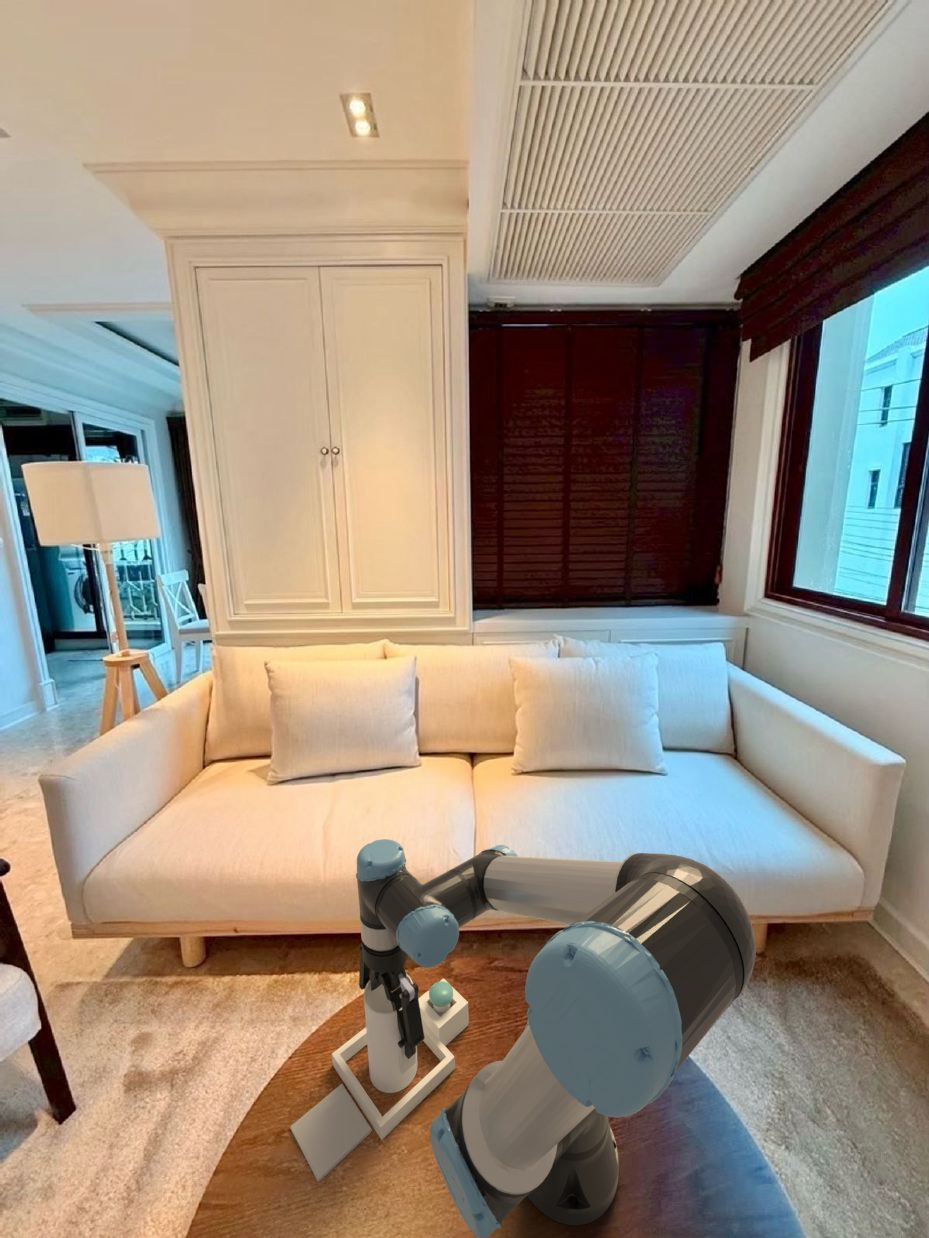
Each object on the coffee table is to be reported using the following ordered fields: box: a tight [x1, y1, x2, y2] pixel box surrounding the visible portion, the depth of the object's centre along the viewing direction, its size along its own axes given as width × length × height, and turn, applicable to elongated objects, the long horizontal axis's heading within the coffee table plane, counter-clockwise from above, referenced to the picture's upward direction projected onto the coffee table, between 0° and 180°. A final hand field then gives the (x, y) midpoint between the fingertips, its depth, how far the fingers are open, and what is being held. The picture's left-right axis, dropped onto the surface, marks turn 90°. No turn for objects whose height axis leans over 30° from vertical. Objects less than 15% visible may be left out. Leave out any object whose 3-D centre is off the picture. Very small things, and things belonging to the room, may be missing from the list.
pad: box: [290, 1083, 372, 1183], centre depth 81 cm, size 9×9×1 cm
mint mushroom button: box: [428, 980, 454, 1016], centre depth 96 cm, size 4×4×5 cm
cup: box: [363, 973, 419, 1094], centre depth 88 cm, size 8×8×16 cm
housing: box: [331, 978, 470, 1141], centre depth 92 cm, size 15×22×5 cm
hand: (392, 1046), depth 89 cm, fingers closed on cup, 8 cm apart
